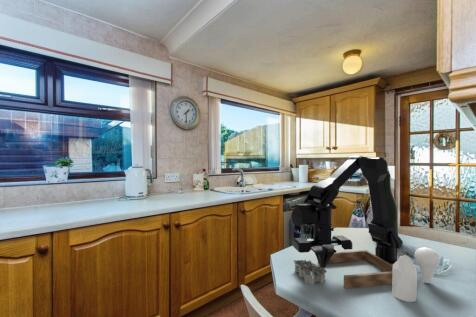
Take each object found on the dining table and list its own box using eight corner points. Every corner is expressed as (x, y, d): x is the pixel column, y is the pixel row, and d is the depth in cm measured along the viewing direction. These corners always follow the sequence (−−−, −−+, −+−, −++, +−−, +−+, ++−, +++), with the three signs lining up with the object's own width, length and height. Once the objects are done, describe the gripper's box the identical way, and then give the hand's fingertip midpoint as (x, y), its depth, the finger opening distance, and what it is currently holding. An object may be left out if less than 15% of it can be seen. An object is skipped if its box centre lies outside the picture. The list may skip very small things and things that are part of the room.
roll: (407, 250, 68) (423, 258, 62) (406, 290, 68) (423, 302, 63) (387, 250, 68) (402, 259, 62) (387, 291, 68) (401, 303, 62)
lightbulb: (441, 290, 68) (442, 253, 68) (415, 284, 71) (415, 249, 71) (437, 281, 73) (437, 246, 73) (413, 275, 76) (413, 242, 76)
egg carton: (328, 284, 72) (328, 271, 72) (305, 286, 71) (305, 273, 71) (311, 267, 83) (311, 256, 83) (292, 269, 81) (292, 257, 81)
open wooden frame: (366, 259, 89) (366, 250, 89) (404, 283, 72) (404, 271, 72) (317, 262, 86) (317, 253, 86) (345, 288, 69) (345, 277, 69)
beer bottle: (403, 245, 103) (404, 171, 102) (380, 245, 103) (380, 171, 102) (388, 236, 113) (389, 169, 113) (367, 236, 113) (367, 170, 113)
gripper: (334, 215, 86) (334, 256, 86) (286, 217, 83) (286, 260, 84) (353, 223, 75) (353, 271, 75) (299, 226, 72) (299, 276, 72)
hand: (322, 269), depth 77 cm, fingers closed
